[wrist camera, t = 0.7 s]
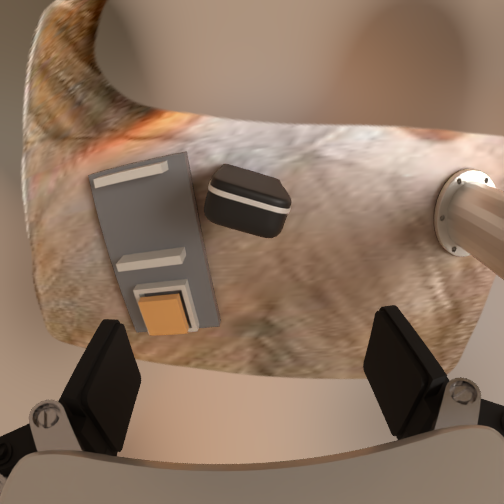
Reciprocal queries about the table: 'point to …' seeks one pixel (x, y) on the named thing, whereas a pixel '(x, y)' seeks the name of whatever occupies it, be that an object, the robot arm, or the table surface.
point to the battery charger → (247, 201)
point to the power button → (164, 314)
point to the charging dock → (156, 236)
